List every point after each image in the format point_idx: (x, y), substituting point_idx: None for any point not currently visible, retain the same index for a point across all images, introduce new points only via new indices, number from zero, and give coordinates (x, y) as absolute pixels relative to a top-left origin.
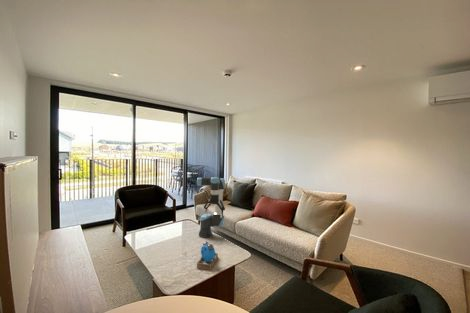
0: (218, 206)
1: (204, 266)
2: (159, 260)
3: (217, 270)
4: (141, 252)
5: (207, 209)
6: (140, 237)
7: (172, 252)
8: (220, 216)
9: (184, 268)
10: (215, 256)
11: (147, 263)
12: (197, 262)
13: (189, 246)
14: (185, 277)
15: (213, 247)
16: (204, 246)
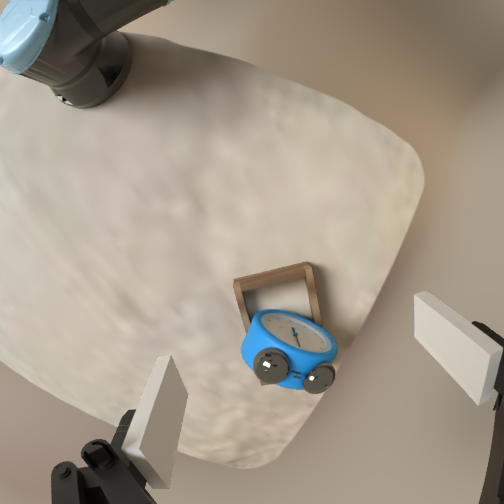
0: (482, 490)
1: None
2: (93, 387)
3: (350, 346)
4: (10, 363)
5: (163, 480)
6: None
7: (77, 323)
8: (425, 348)
9: (216, 394)
10: (314, 301)
11: (82, 410)
12: (260, 380)
13: (95, 236)
14: (258, 424)
15: (329, 357)
16: (278, 384)
